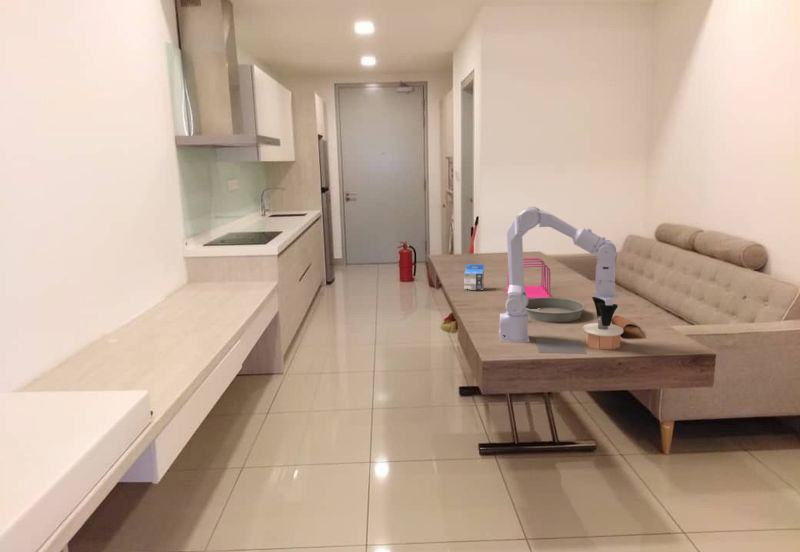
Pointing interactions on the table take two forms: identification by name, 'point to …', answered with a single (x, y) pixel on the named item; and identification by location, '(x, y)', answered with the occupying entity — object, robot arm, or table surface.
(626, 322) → the sunglasses case
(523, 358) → the table surface
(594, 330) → the lid
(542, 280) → the file sorter
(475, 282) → the label tape box
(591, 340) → the bowl
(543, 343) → the mat
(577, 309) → the cake pan
